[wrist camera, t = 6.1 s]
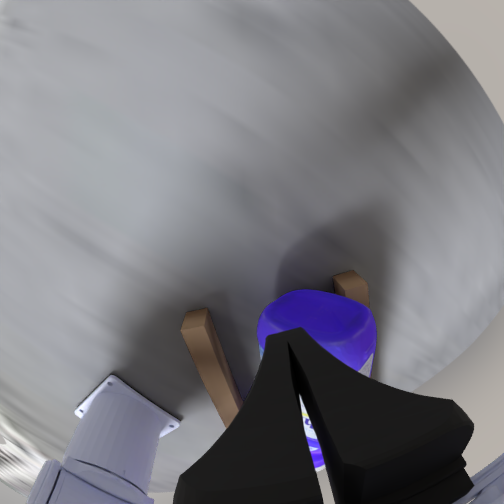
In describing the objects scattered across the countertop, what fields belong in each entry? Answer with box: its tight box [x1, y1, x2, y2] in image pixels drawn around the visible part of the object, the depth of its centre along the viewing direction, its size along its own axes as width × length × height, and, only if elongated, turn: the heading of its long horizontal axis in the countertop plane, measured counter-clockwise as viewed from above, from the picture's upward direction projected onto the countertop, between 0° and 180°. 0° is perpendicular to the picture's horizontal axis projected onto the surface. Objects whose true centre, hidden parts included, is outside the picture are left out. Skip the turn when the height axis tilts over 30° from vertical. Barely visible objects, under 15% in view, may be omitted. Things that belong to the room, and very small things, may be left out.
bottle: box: [257, 289, 377, 472], centre depth 19 cm, size 7×6×17 cm
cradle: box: [180, 270, 371, 429], centre depth 21 cm, size 19×12×2 cm, turn 14°
